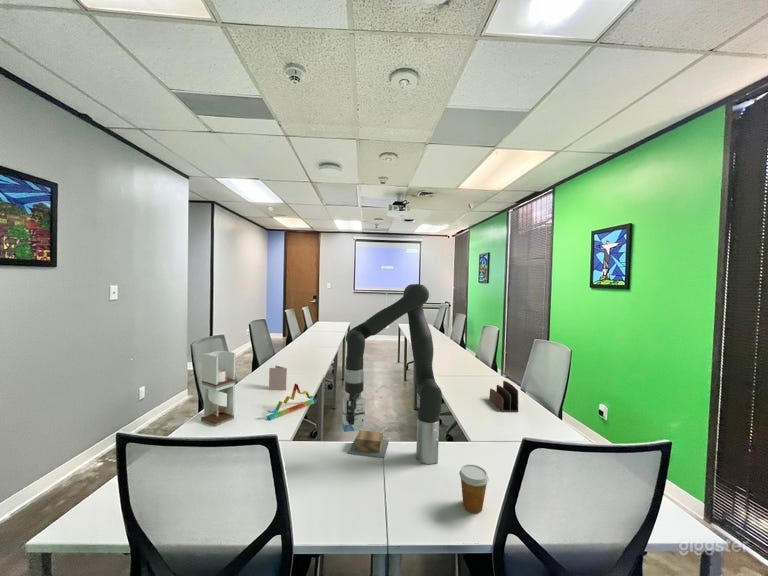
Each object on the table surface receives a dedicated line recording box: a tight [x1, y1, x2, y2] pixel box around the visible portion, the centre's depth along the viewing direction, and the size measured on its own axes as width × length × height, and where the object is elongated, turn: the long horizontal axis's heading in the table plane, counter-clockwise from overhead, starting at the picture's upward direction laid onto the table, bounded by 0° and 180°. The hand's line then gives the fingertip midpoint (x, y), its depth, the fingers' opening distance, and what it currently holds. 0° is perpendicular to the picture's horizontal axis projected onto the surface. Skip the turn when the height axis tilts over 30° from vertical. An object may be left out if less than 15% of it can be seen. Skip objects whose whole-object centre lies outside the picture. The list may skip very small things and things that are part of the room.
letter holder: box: [489, 380, 519, 413], centre depth 195 cm, size 10×20×14 cm, turn 3°
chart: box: [266, 383, 315, 421], centre depth 177 cm, size 30×3×15 cm, turn 144°
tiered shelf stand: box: [200, 350, 237, 427], centre depth 162 cm, size 11×11×35 cm
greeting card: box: [268, 364, 288, 391], centre depth 210 cm, size 11×7×15 cm, turn 58°
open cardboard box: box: [354, 430, 384, 453], centre depth 141 cm, size 11×8×5 cm
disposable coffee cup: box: [458, 463, 490, 514], centre depth 105 cm, size 10×10×12 cm
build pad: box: [347, 437, 390, 459], centre depth 141 cm, size 16×14×1 cm
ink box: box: [341, 396, 366, 433], centre depth 126 cm, size 8×5×12 cm, turn 105°
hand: (353, 420), depth 126 cm, fingers closed on ink box, 6 cm apart
